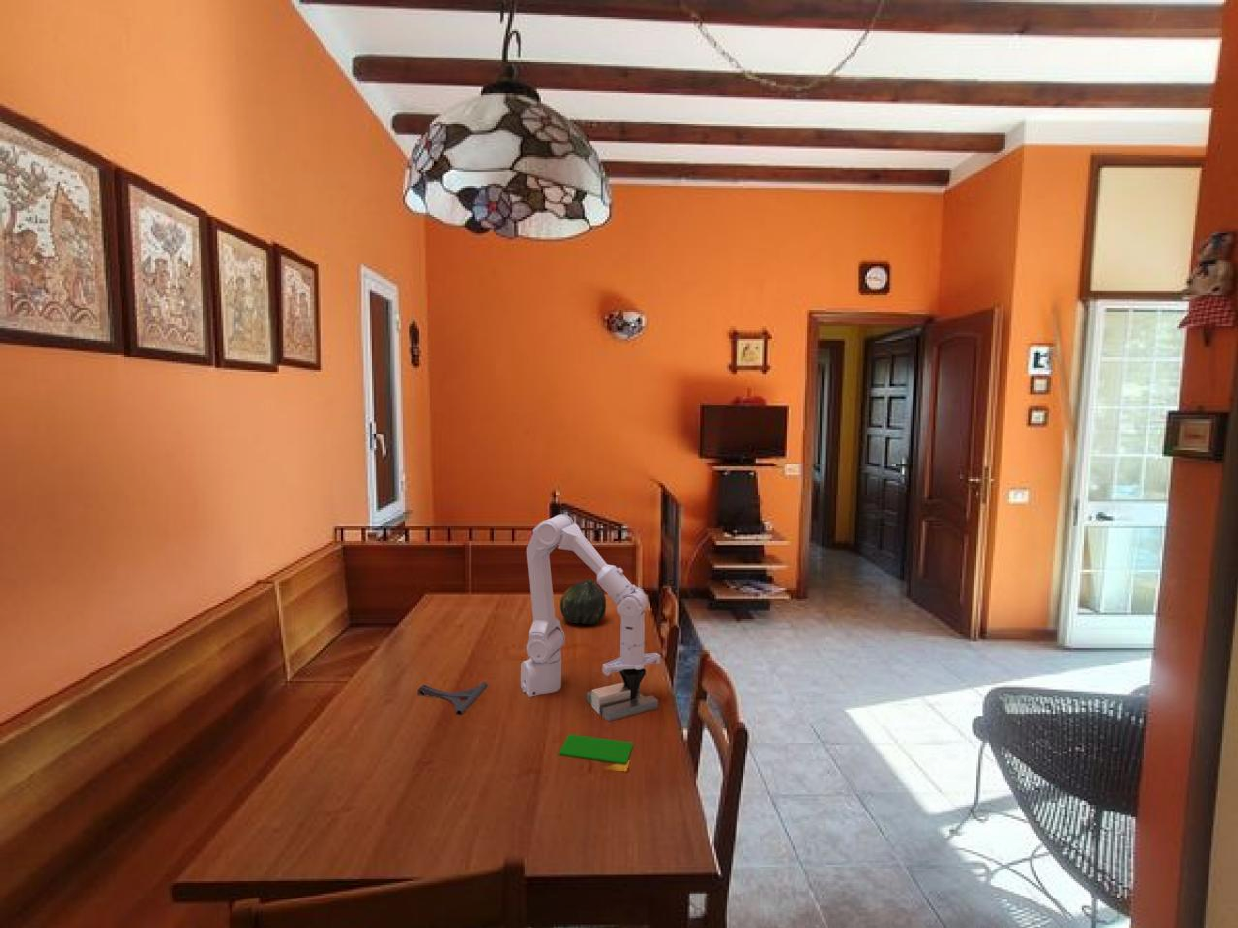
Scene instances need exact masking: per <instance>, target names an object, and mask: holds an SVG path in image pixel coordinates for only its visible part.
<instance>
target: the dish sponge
mask: <svg viewBox="0 0 1238 928" xmlns="http://www.w3.org/2000/svg"><path fill="white" fill-rule="evenodd" d="M633 747H634V743H633V742H629V741H622V740H614V739H606V738H599V737H593V736H586V735H579V734H578V735H577V734H571V733H570V734H568V735H567V737H566V738H565V741H564V743H563V744H562V746H561V747H560V750H559V751H558V755H560V756H563V757H564V756H565V757H572V758H578V759H585V760H592V761H593V760H594V761H599V762H605V763H606V762H607V763H613V764H611V765H608V766H605V767H602V768H601V769H603V770H609V771H616V772H622V771H624V772H625V773H626V772H627V771H628V769H627V768H629V766H630V763H631V759H629V757H630V755H631V752H632V750H633Z"/></svg>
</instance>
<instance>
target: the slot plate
mask: <svg viewBox="0 0 1238 928" xmlns="http://www.w3.org/2000/svg"><path fill="white" fill-rule="evenodd" d="M622 683H623V684H624V682H622ZM624 685H625V684H624ZM586 701H587V702H588V703H589V704H590V705H591V690H590V691H587V692H586ZM658 708H659V700H658V699H657V698H656V697H655V696H653V695H652V694H651V695H647V696H644V695H643V694H642V693H641V685H640V686H639V689H638V692H637V696H636V699H633V700H631V699H630V701H627V702H624V703H620V704H616V705H612V706H608V707H604V708H602V714H600V715H601V716H602V717H603V718H604V719H605V720H606V721H607V722H611V721H615V720H618V719H622V718H626V717H631V716H634V715H637V714H642V713H645V712H649V711H651V710H652V711H653V710H655V709H658Z"/></svg>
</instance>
